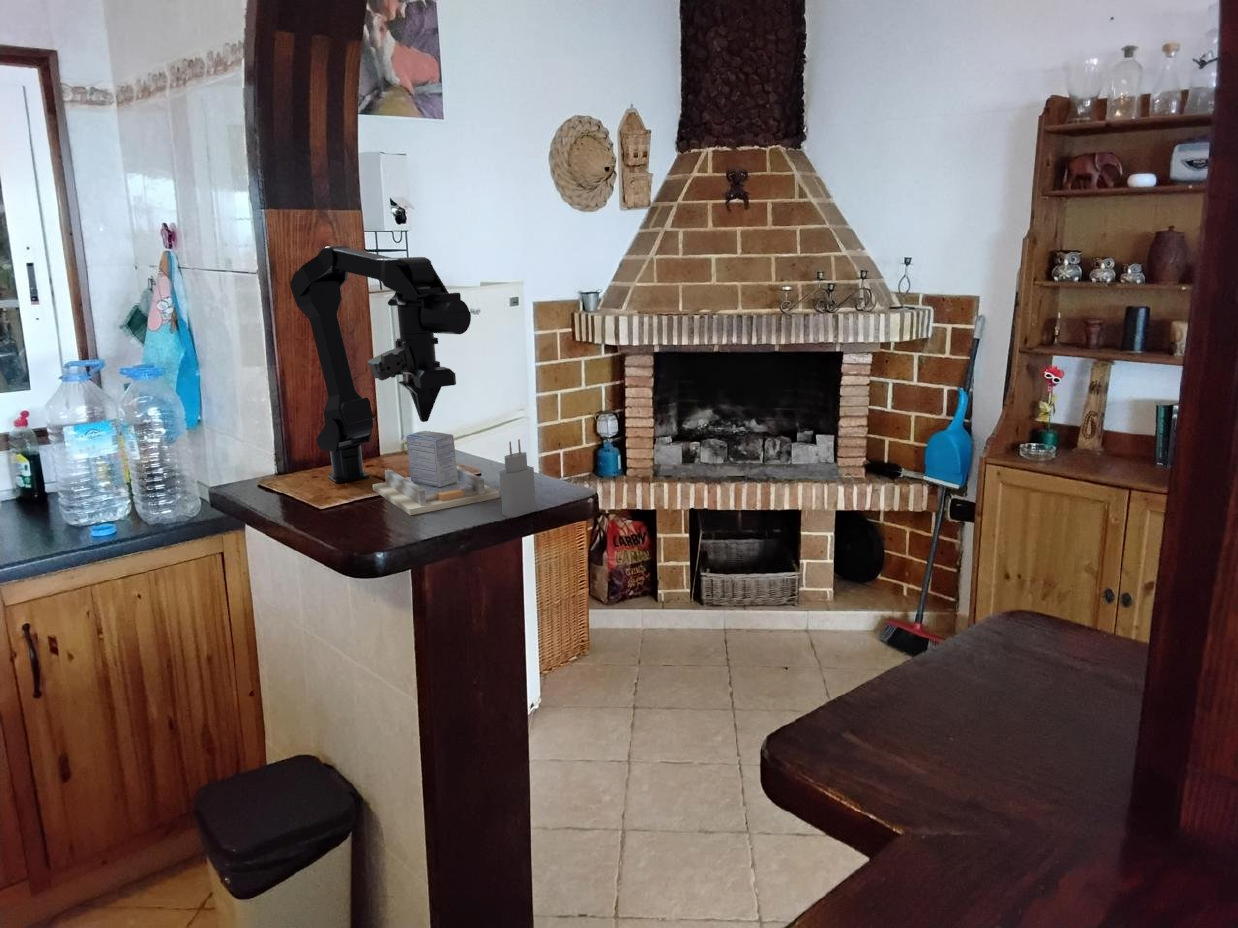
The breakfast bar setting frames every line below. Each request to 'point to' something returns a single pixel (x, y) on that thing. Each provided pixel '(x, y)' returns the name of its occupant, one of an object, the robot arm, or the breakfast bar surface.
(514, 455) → the power adapter
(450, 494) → the rail carriage
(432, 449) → the medicine box
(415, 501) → the rail board
